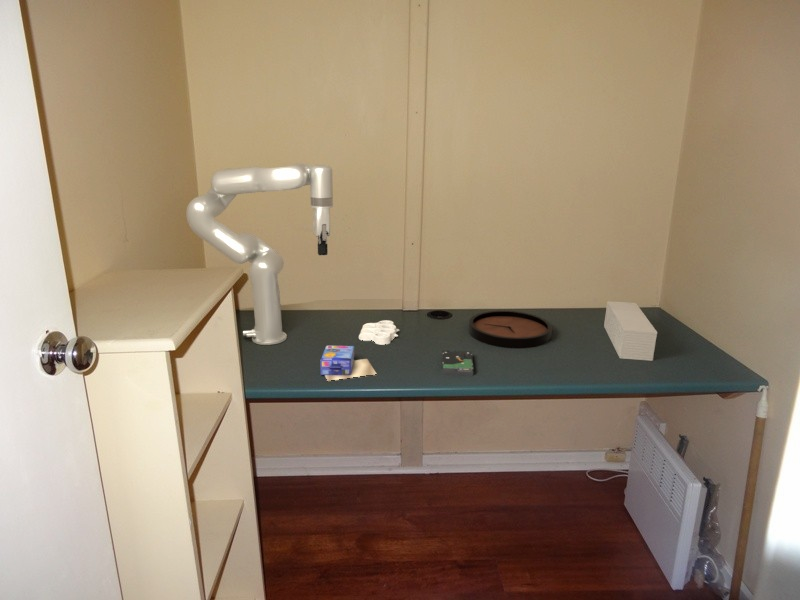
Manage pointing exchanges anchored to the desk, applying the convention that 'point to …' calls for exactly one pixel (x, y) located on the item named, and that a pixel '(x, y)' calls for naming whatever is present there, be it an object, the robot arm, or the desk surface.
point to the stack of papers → (630, 331)
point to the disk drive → (457, 362)
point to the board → (355, 370)
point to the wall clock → (510, 329)
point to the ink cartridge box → (337, 360)
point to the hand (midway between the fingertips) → (322, 254)
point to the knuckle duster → (379, 332)
